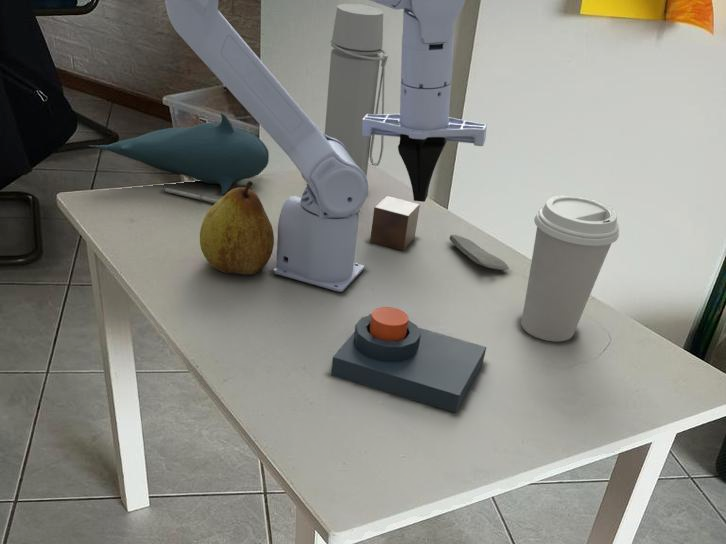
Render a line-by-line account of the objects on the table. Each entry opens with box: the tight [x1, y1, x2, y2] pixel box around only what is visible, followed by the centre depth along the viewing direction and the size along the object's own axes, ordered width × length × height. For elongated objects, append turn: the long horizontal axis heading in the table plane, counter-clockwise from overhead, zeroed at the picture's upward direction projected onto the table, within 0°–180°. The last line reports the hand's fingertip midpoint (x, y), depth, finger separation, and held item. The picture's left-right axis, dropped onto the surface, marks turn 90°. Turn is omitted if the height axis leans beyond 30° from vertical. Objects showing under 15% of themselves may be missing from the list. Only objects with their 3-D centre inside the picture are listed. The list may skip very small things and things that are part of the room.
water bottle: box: [324, 3, 389, 179], centre depth 120 cm, size 9×8×25 cm
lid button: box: [369, 306, 410, 341], centre depth 88 cm, size 4×4×2 cm
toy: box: [87, 113, 270, 195], centre depth 123 cm, size 11×26×15 cm
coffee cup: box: [521, 194, 620, 343], centre depth 96 cm, size 10×10×15 cm
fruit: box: [199, 180, 275, 276], centre depth 100 cm, size 9×9×12 cm
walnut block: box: [369, 195, 421, 251], centre depth 114 cm, size 5×5×5 cm
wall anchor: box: [164, 187, 222, 204], centre depth 119 cm, size 1×9×1 cm, turn 71°
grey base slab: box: [330, 313, 487, 414], centre depth 89 cm, size 14×11×4 cm
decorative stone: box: [449, 234, 510, 271], centre depth 113 cm, size 11×1×5 cm
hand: (420, 198), depth 102 cm, fingers closed
